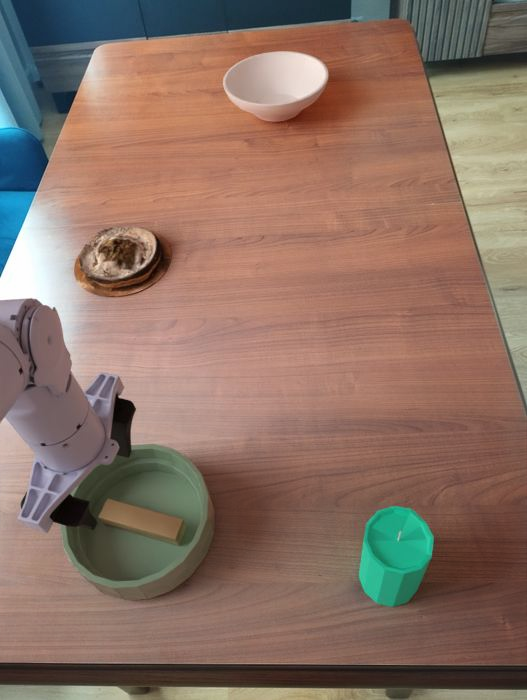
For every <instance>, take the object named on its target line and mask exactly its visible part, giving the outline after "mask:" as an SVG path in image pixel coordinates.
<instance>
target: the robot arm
mask: <svg viewBox="0 0 527 700" xmlns="http://www.w3.org/2000/svg"><path fill="white" fill-rule="evenodd" d="M63 331H64V330H63V326H62V322H61V318H60V315H59V312H58V310H57V308H56V307H55V306H53V307H52V308H51V306H49V305H47V304H43V303H42V302H41V301H40V300H38V299H37V298H33V297H29V298H13V299H0V424H2V421H3V420H4V419H5V420H6V421H7V422H8V423H9V425H10V426H11V427H12V428H13V429H14V430H15V432H16V433H17V434H18V435H19V436H20V437H21V439H22V440H23V441H24V443H25V444H26V446H28V447H29V449H30V450H31V451H32V452H33V453H34V457H33V463H32V467H31V471H30V477H29V482H28V485H27V490H26V492H25V494H24V495H23V498H22V499H21V502H20V512H19V514H18V516H17V519H18V520H19V521H20V522H21V523H22V524H23V525H24V526H25V527H26V528H29V529H31V530H35V531H39V532H42V533H46V534H49V532H50V530H51V529H52V526H53V524H54V523H55V524H58V525H60V524H62V525H65V526H70V527H78V526H79V527H83V528H86V529H90V530H94V529H95V527H96V525H97V520H96V519H95V518H94V517H93V515H92V514H91V513H90V510H89V503H90V501H86V500H83V499H79V498H76V497H72V495H71V494H70V493H71V492H72V491H73V490H74V489H75V488H76V487H77V486H78V485H79V484H80V483H81V482H82V481H83V479H84V478H85V477H86V476H87V475H88V474H89V473H90V472H91V471H92V470H93V469H94V468H95V467H96V466H97V465H99V464H104V465H109V464H111V463H112V462H113V460H114V458H115V456H116V455H119V456H123V457H127V458H129V457H130V454H131V445H132V435H131V433H132V432H131V431H132V425H133V423H132V422H133V419H134V416H135V413H136V411H137V408H136V405H135V404H134V402H133V401H132V400H129V399H126V398H121V397H120V396H121V395H122V393H123V392H124V389H125V386H124V384H123V383H124V382H122V379H121V377H120V375H117V374H112V373H107V372H103V371H100V372H99V373H98V375H97V376H96V378H95V379H94V380H93V382H92V383H91V384H90V385H89V386H88V387H87V388H86V389H85V390H83V389H82V387H81V385H80V384H79V382H78V380H77V379H76V376H75V375H74V374H73V372H72V366H73V362H72V359H71V357H72V356H71V353H70V351H69V349H68V348H67V345H66V343H65V342H66V341H65V338H64V332H63Z"/></svg>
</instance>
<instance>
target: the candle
mask: <svg viewBox="0 0 527 700" xmlns="http://www.w3.org/2000/svg"><path fill="white" fill-rule="evenodd" d="M362 541H363V543H362V550H361V555H360V563H359V569H358V579H359V582H360V585H361V587H362V591H363V592H364V593H365V594H366V595H367V596H368V597H369V598H370V599H371V600H372V601H374V602H375V603H376V604H378V605H381V606H382V605H383V606H386V607H391V608H394V607H398V606H401V605H404V604H407V603H409V602H410V600H411V599H412V598H413V597H414V595H415V594H416V593H417V592H418V590H419V588H420V585H421V583H422V581H423V578H424V575H425V574H426V571H427V569H428V567H429V564H430V562H431V560H432V558H433V550H434V541H435V537H434V534H433V532H432V531H431V529H430V527H429V525H428V523H427V521H426V520H425V519H424V518H423V517H421V516H420V515H419V514H418V513H417V512H416V511H415V510H413V508H409V507H403V506H400V505H399V506H398V505H392V506H388V507H386V508H382V509H377V511H375V512H374V514H373V515H372V516H371V517H370V519H369V520H368V521H367V522H366V524H365V529H364V536H363V540H362Z"/></svg>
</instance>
